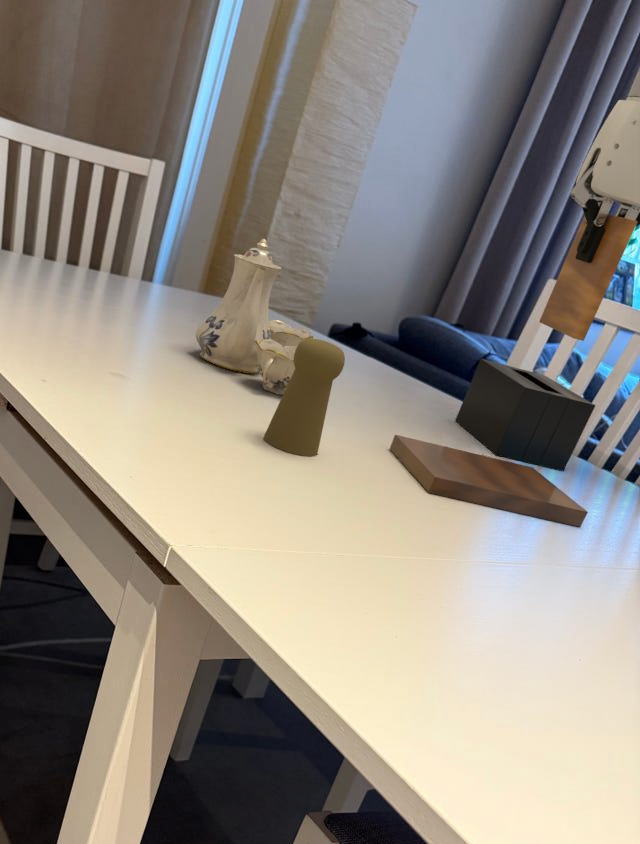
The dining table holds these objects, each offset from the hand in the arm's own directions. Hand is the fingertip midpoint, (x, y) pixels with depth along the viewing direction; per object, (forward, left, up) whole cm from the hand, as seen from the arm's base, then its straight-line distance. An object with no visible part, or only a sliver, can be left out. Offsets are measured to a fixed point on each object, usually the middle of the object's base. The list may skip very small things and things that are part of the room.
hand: (590, 262), depth 115 cm
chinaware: (+36, -9, -24) cm, 44 cm away
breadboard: (+14, +23, -24) cm, 36 cm away
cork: (+37, +24, -24) cm, 51 cm away
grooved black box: (0, -1, -24) cm, 24 cm away
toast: (0, 0, -9) cm, 9 cm away
